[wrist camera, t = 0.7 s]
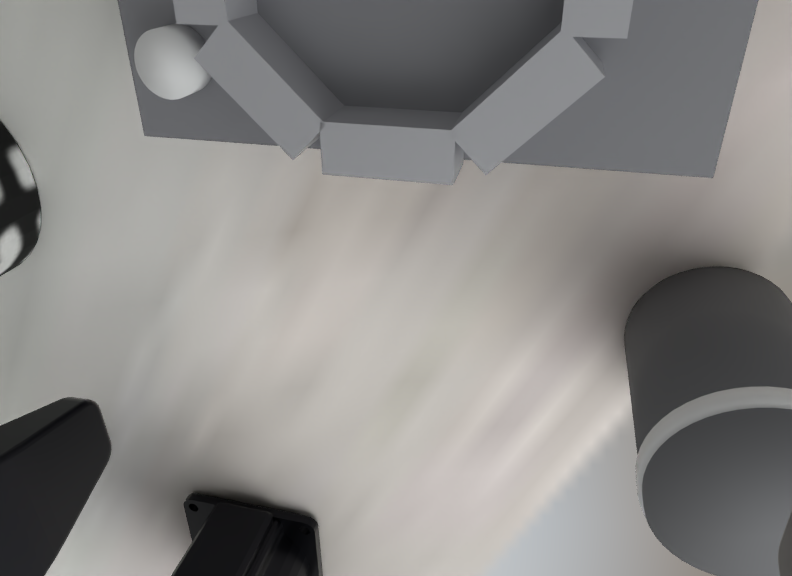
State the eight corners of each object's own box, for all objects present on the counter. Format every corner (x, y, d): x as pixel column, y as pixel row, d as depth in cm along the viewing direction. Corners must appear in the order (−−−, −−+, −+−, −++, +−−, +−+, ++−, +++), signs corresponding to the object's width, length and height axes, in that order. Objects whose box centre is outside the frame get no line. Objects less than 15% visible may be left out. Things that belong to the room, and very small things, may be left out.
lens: (774, 413, 21) (852, 605, 15) (609, 390, 22) (621, 561, 16) (827, 274, 18) (946, 439, 12) (636, 254, 19) (663, 398, 13)
